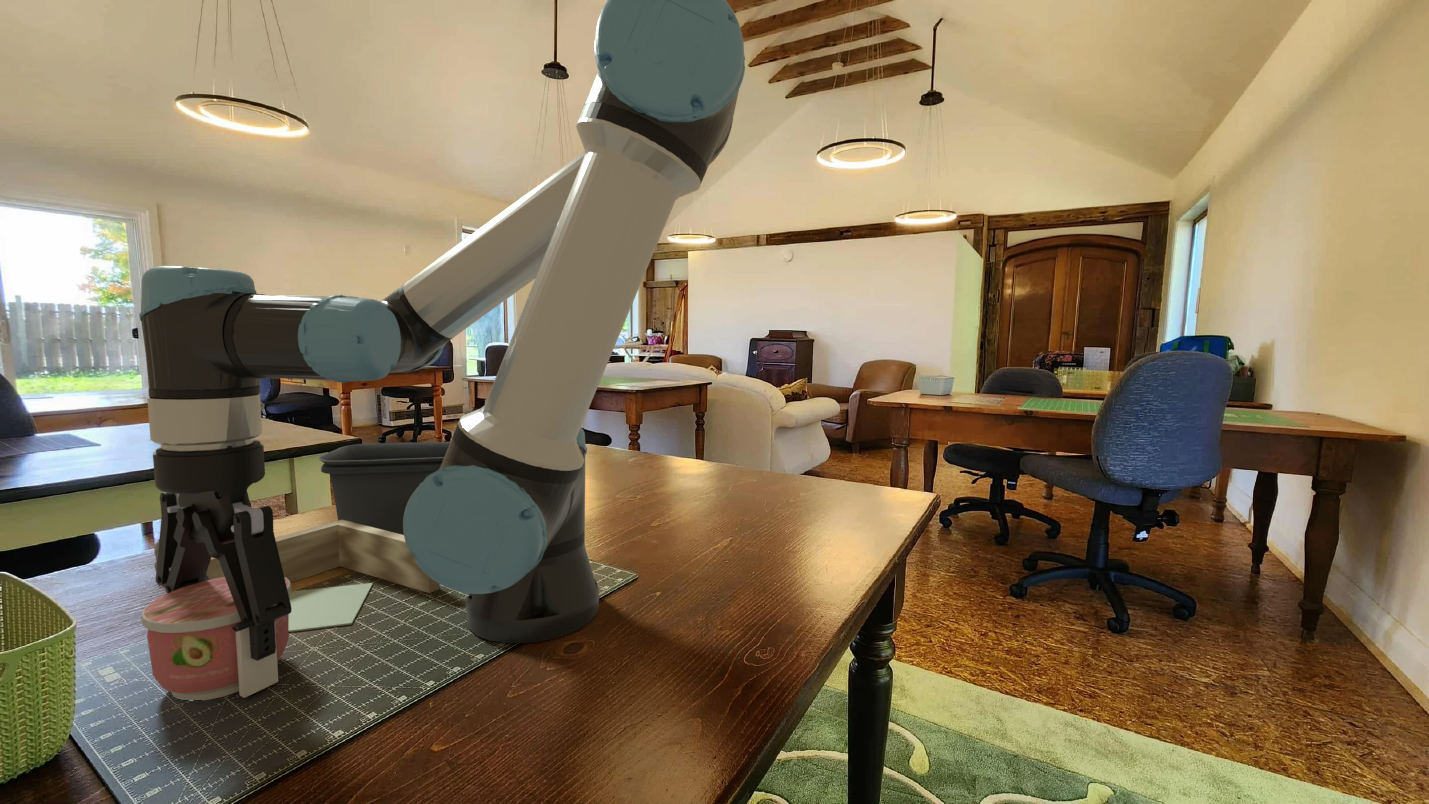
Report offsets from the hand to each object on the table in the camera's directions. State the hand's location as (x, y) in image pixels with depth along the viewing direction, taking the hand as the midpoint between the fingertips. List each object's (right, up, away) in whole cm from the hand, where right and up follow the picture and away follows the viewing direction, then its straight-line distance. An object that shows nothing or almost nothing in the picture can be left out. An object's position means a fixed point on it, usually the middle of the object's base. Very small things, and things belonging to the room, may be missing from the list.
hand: (225, 671), depth 54 cm
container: (0, -1, 0) cm, 1 cm away
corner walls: (-1, +1, +15) cm, 15 cm away
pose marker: (-2, +1, +13) cm, 13 cm away
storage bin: (-4, +4, +40) cm, 40 cm away
